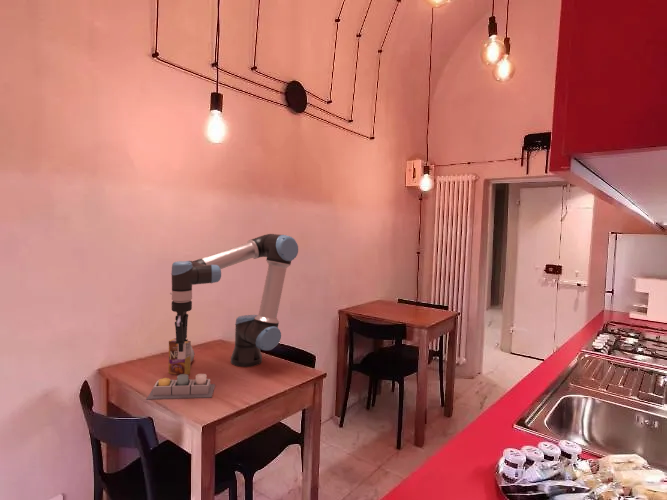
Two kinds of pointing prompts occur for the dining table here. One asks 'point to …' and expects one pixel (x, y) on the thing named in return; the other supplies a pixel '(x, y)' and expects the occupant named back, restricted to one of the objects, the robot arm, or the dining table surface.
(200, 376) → the ivory button
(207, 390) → the button panel
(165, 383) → the mustard button
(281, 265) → the robot arm
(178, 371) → the candy box
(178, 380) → the teal button
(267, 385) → the dining table surface
